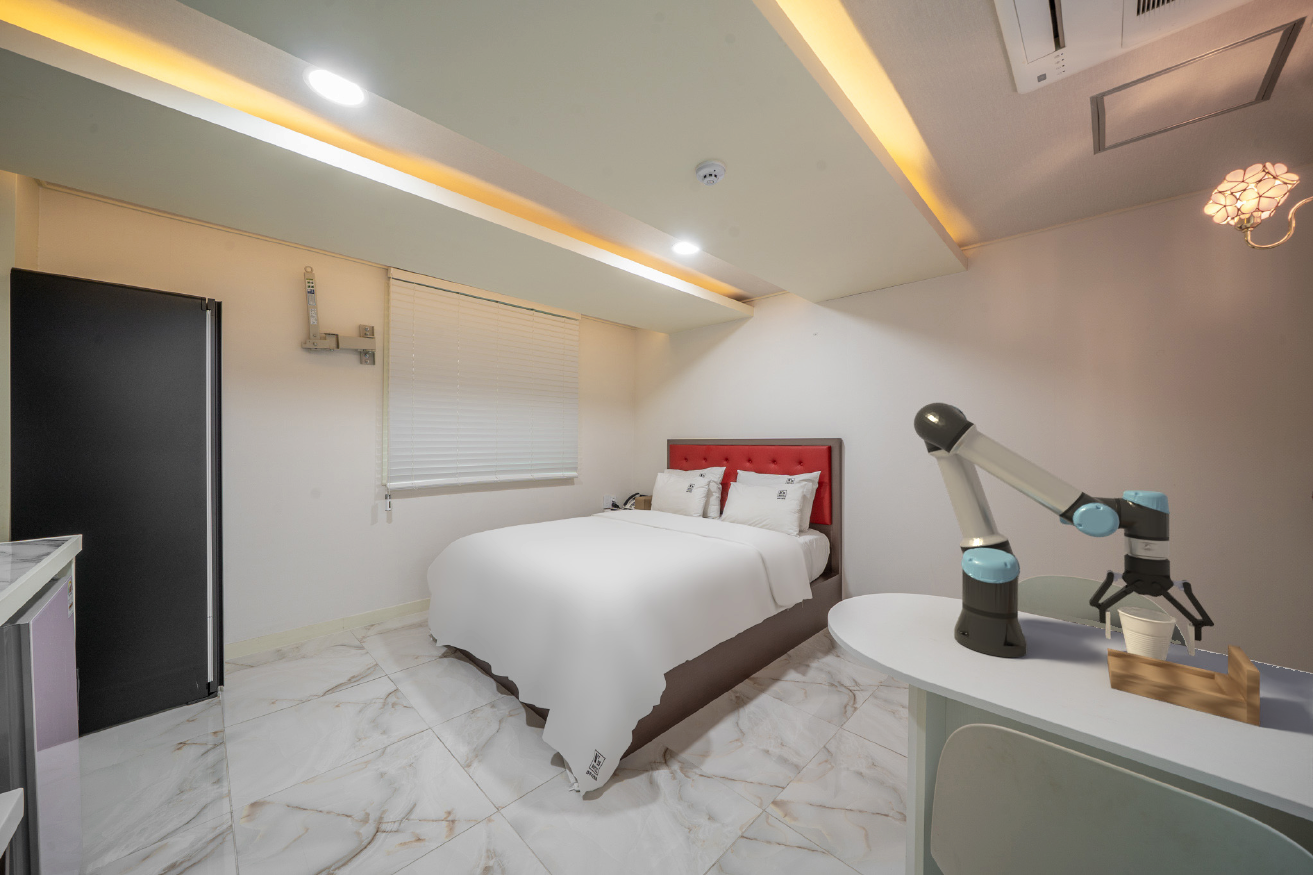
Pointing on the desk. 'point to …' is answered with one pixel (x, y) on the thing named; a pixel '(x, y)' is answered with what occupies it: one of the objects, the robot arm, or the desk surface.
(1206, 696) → the bracket shelf
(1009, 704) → the desk surface
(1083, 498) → the robot arm
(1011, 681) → the desk surface
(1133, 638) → the cup
